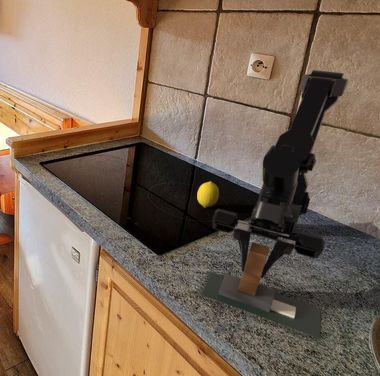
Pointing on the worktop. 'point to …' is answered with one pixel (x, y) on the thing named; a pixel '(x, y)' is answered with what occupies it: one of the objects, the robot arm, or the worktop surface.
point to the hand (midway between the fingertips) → (251, 274)
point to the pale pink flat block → (283, 308)
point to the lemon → (208, 194)
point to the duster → (250, 281)
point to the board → (304, 315)
